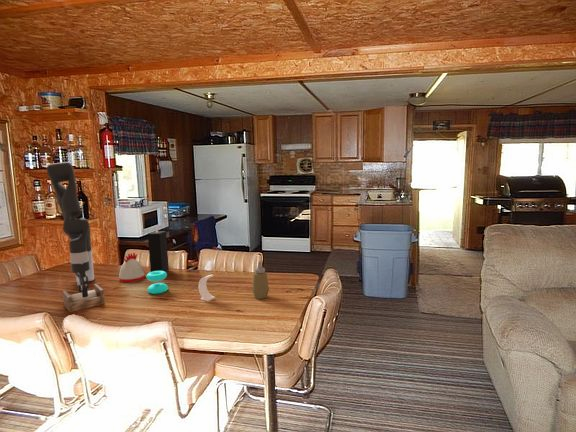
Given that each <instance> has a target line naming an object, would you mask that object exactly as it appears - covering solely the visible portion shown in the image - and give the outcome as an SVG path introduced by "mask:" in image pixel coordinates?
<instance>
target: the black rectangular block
mask: <svg viewBox="0 0 576 432" xmlns="http://www.w3.org/2000/svg"><path fill="white" fill-rule="evenodd" d="M167 239H168V238H167V230H160V227H158V226H154V230H153V231H151V232H148V233H147V243H148V254H149V266H150V269H149V270H150V272H153V271H165V272H166V273H167V272H168V271H169V270H170V268H169V253H168V241H167Z"/></svg>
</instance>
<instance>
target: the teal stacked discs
mask: <svg viewBox="0 0 576 432" xmlns="http://www.w3.org/2000/svg"><path fill="white" fill-rule="evenodd" d="M167 277H168V273H167V271H166V272H165V271H153V272H151V271H150V272H148V273H147V274H146V275H145V278H146V279H147V281H150V282H155V283H152V284H150V285H149V286H148V287H147V292H148V294H151V295H157V294H162V293H166V292H167V291H168V290H169V286H168V285H167V284H166V283H164V282H161V281H163V280H164V279H167ZM159 281H160V282H159Z"/></svg>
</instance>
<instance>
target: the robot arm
mask: <svg viewBox="0 0 576 432" xmlns="http://www.w3.org/2000/svg"><path fill="white" fill-rule="evenodd" d="M46 172H47V175H48V178H49V181H50V183H51V185H52V187H53V190H54V192H55V195H56V199H57V203H58V206H59V208H60V211H61V213H62V217H63V223H62V230H63V233H65V235H67V236H68V238H69V239H70V241H69V244H68V245H69V254H70V255H69V259H70V268H71V272H72V273H74V274H75V281H76V282H75V283H76V286H77V287H78V289H77V290H78V293H81V292H82V297H83V298H84V297H88V291H89V290H88V289H89V288H90V286H89V282H92V281H94V280H95V273H94V272H95V271H94V261H93V260H94V259H93V251H92V241H91V240H92V239H91V226H90V223H89V221H88V219H87V218H83V217H81V218H78V217H80V216H81V214H82V210H81V204H80V201H79V196H78V191H77V190H78V189H77V182H76V181H77V179H76V174H75V170H74V167H73V165H72V163H71V162H70V161H62V162H57V163H55V162H54V163H50V164H48V165H47V166H46ZM63 182H68V183H67V186H66V187H65V186H64V185H63V184H62V183H63Z"/></svg>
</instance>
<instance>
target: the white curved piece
mask: <svg viewBox="0 0 576 432" xmlns="http://www.w3.org/2000/svg"><path fill="white" fill-rule="evenodd" d="M212 277H214V274H209V275H205V276H203V277H202V278H201V277H200V279H199V282H198V286H197V287H198V291H199V294H200V296H201V297H200V300H201V301H204V302H210V301H212V300H215V299H216V297H215V296H214V295H212V294H211V293H210V292H209V289H208V287H207V281H208V279H210V278H212Z"/></svg>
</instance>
